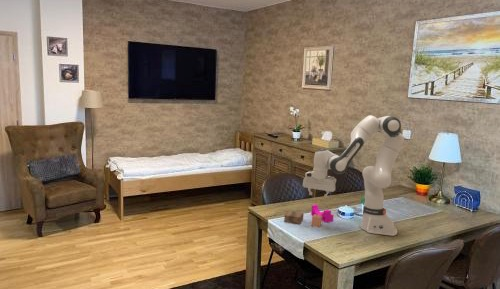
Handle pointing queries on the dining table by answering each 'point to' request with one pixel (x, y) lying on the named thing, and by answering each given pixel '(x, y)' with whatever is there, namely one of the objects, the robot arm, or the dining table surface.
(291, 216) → the walnut base block
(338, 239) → the dining table surface
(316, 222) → the terracotta block
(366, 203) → the robot arm
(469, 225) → the dining table surface
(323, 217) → the toy block
